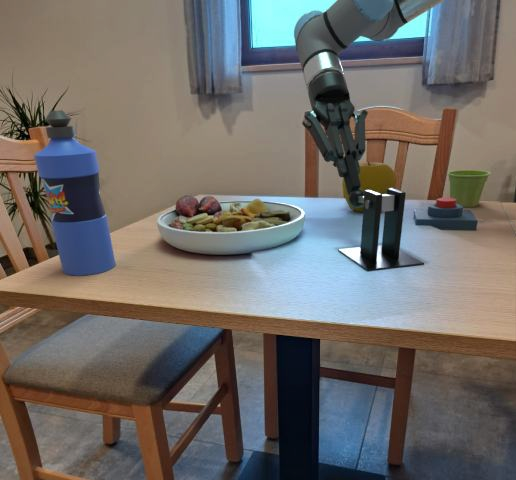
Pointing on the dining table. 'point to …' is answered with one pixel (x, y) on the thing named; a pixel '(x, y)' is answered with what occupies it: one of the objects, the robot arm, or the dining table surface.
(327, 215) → the dining table surface
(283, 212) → the bowl
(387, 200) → the switch lever
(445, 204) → the red button
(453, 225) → the button box
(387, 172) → the apple
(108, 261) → the water bottle
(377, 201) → the stand
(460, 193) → the plant pot
